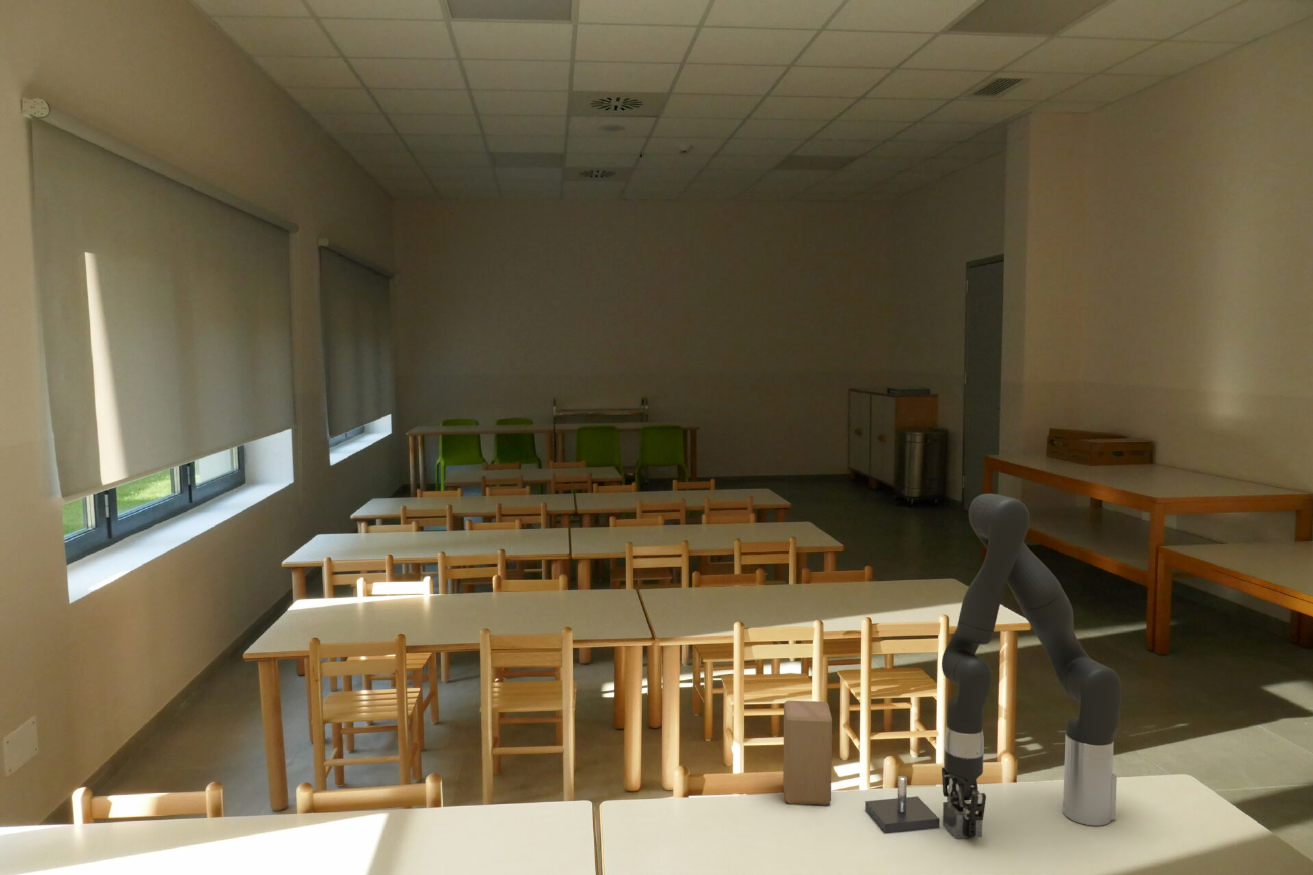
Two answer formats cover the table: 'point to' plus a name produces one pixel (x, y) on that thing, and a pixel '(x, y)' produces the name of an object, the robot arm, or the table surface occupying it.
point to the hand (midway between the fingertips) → (961, 828)
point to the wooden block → (807, 752)
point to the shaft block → (902, 812)
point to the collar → (957, 819)
